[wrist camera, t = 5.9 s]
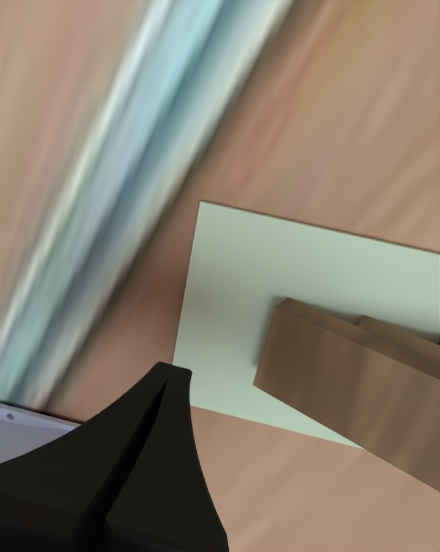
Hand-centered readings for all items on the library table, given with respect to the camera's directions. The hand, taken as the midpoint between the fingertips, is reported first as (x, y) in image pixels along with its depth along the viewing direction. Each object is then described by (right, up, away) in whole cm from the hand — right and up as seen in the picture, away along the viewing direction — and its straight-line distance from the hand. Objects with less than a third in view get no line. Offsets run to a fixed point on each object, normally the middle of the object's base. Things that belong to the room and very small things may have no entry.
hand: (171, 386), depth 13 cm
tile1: (+4, +1, +4) cm, 6 cm away
